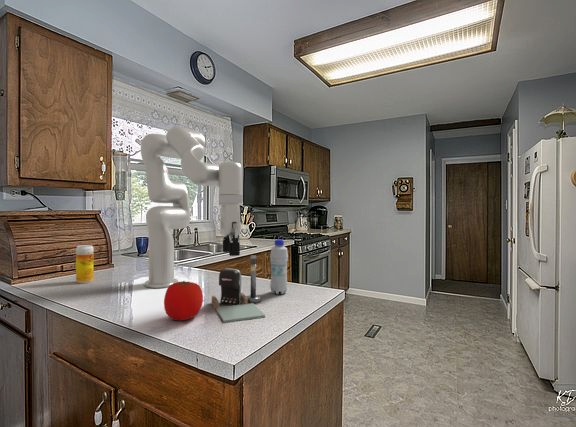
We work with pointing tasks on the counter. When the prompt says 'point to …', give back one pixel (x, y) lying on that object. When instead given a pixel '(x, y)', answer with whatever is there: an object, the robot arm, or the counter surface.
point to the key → (253, 276)
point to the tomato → (183, 300)
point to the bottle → (279, 267)
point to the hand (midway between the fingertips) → (230, 253)
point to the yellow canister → (84, 264)
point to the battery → (230, 286)
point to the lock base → (254, 299)
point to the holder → (216, 302)
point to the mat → (239, 312)
